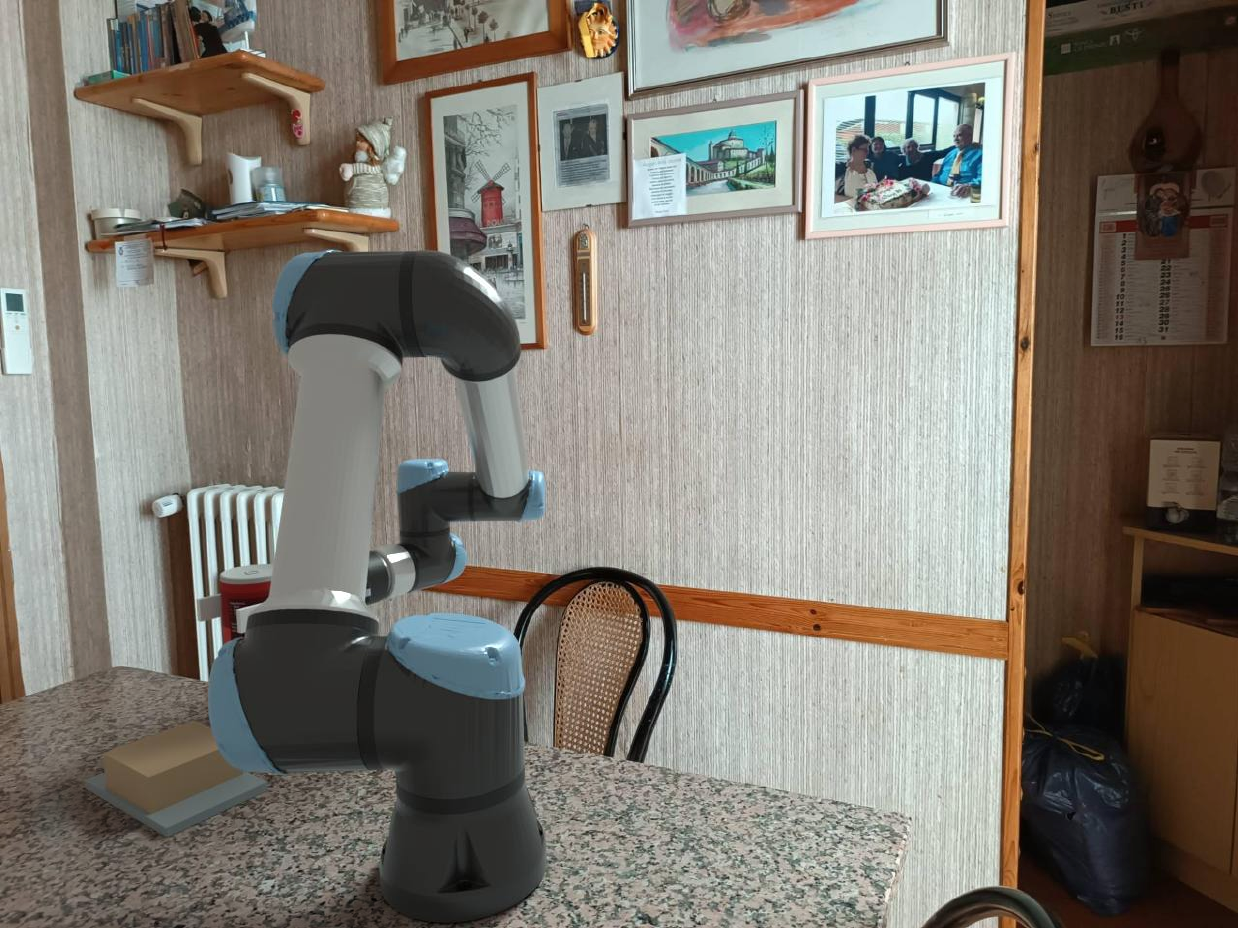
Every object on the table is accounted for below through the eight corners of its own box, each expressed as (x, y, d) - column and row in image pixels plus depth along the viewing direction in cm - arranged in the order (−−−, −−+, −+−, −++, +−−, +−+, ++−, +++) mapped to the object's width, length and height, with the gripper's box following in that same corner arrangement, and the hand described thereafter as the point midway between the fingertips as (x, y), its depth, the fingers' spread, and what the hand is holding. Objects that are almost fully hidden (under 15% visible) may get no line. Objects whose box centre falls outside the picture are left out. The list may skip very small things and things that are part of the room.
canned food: (270, 643, 105) (265, 560, 103) (305, 654, 100) (300, 568, 99) (212, 660, 98) (206, 572, 97) (246, 673, 94) (240, 581, 93)
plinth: (268, 790, 89) (265, 747, 88) (166, 837, 80) (163, 790, 79) (183, 750, 99) (180, 711, 98) (85, 788, 90) (81, 745, 89)
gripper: (425, 612, 108) (271, 662, 89) (329, 591, 119) (175, 632, 101) (423, 558, 107) (267, 597, 88) (327, 542, 119) (170, 574, 100)
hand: (218, 615), depth 95 cm, fingers closed on canned food, 8 cm apart
